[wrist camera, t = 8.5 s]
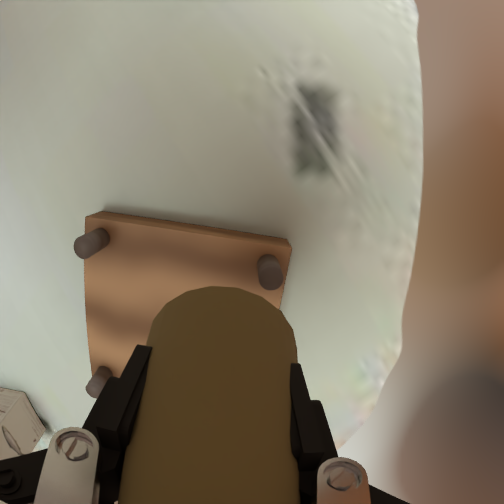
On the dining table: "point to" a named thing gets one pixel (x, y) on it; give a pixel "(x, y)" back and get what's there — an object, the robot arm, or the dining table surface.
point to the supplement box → (17, 424)
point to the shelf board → (162, 277)
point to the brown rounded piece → (214, 405)
